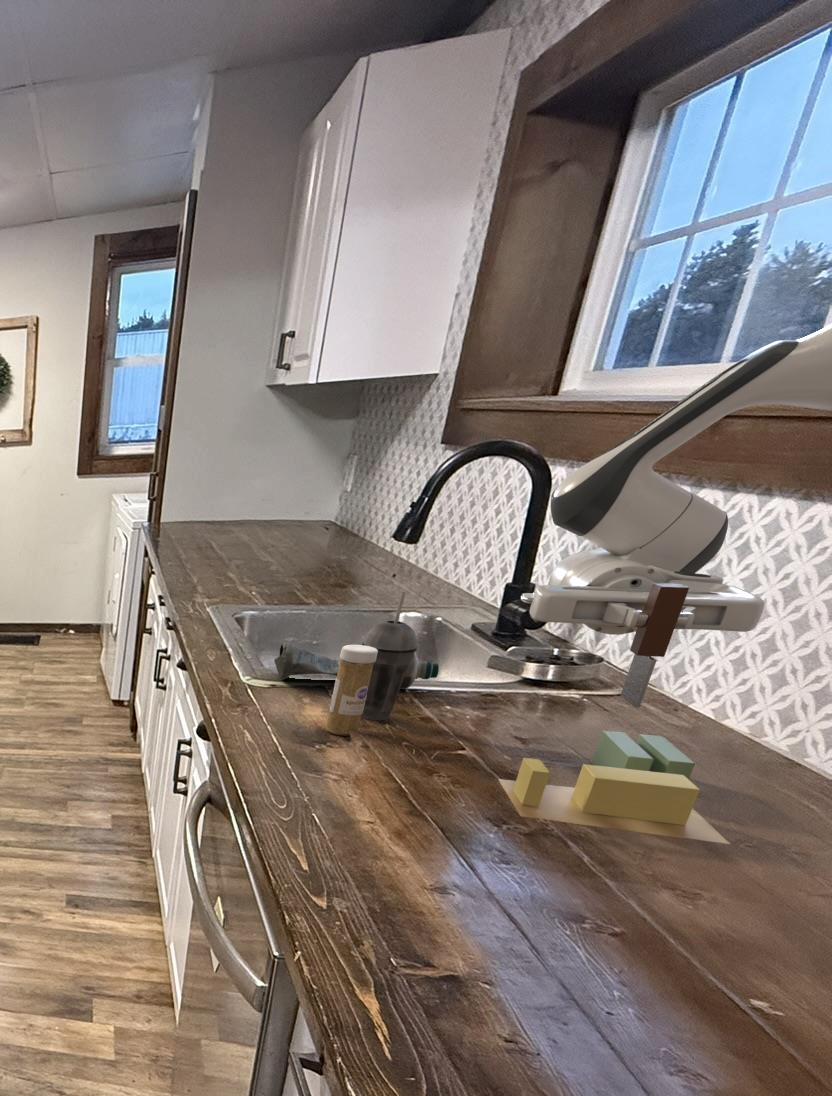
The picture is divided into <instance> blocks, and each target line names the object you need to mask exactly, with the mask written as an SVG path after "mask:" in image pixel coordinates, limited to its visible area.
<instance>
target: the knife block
mask: <svg viewBox="0 0 832 1096" xmlns="http://www.w3.org/2000/svg"><path fill="white" fill-rule="evenodd" d="M590 764H591V765H596V766H605V767H614V768H623V769H632V770H642V771H651V772H660V773H669V774H678V775H684V776H685V777H686V778H688V779H689V780H690V778H691V775H692V773H693V771H694V767H695V765H696V762H694V761H693V760H692V759H691V758H690V757H688V756H687V754H685V753H683V752H682V750H680V749H679V748H677V747H676V746H675V745H674V744H672V743H671V742H670V741H669V740H668V739H667V738H666V737H664V736H663V735H655V734H644V733H639V734H638V735H637V739H636V741H634V740H633V738H631V737H630V736H629V735H628V734H627V733H626V732H624V731H623V732H621V731H613V730H612V731H611V730H601V732H600V735H599V738H598V740H597V744H596V746H595V749H594V752H593V755H592V758H591V760H590Z"/></svg>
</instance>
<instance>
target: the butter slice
mask: <svg viewBox="0 0 832 1096" xmlns="http://www.w3.org/2000/svg"><path fill="white" fill-rule="evenodd" d="M550 774H551V772H550V771H549V769H548V768H547V767H546V766H545V764H544V763H543V761H542V760H541V759H539V758H530V757H523V758H522V761H521V764H520V768H519V770H518V773H517V777H516V780H515V781H516V783H515V786H514V789H513V791H514V793H515V794H516V796H517V798H518V799H519V801H520V802H521V804H522V805H529V806H537V807H539V804H540V801H541V798H542V795H543V792H544V789H545V786H546V785H547V784H548V780H549V777H550Z"/></svg>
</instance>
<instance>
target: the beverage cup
mask: <svg viewBox="0 0 832 1096" xmlns="http://www.w3.org/2000/svg"><path fill="white" fill-rule="evenodd" d="M406 593H407V592H406V591H401V593H400V597H399V601H398V605H397V609H396V612H395V615H394V620H386V621H382V622H380V623H378V624H376V625H374V626H373V627H372V628H371V629H369V631H368V632H367V633H366V635H365V637H364V639H363V642H362V644H361V645H364V646H370V647H373V648H376V649H377V650H378V653H377V658H376V661H375V662H374V665H373V668H372V673H371V677H370V682H369V686H368V690H367V697H366V701H365V705H364V710H363V713H362V716H361V719H366V720H370V721H386V720H389V719H390V715H391V713H392V712H393V709H394V707H395V704H396V701H397V698H398V695H399V693H400V690H401V688H400V687H401V684H402V682H403V679H404V676H405V673H406V670H407V668H408V665H409V663H410V662H411V660H412V658H413V656H414V653H415V652H417V650H418V646H417V644H418V639H417V635H416V632H415V630H414V629H413V628H412V627H411V626H410V625H409V624H407V623H405V622H404V621H400V620H399V619H400V615H401V611H402V607H403V604H404V601H405V597H406ZM415 654H416V653H415Z"/></svg>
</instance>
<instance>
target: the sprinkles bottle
mask: <svg viewBox="0 0 832 1096" xmlns="http://www.w3.org/2000/svg"><path fill="white" fill-rule="evenodd" d="M377 653H378V650H377V649H376V648H373V647H370V646H364V645H362V644H347V645H343V646H342V648H341V650H340V655H339V660H340V665H339V671H338V674H337V676H336V678H335V682H334V686H333V690H332V696H331V698H330V704H329V712H328V717H327V721H326V724H325V726H324V729H325V731H326V732H328V733H330V734H333V735H336V736H344V737H345V736H346V737H349V736H351V734H350V731H357V732H359V730H360V724H361V720H362V717H361V716H362V713H363V710H364V705H365V701H366V697H367V690H368V686H369V682H370V677H371V673H372V668H373V665H374V662H375V661H376V658H377Z"/></svg>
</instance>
